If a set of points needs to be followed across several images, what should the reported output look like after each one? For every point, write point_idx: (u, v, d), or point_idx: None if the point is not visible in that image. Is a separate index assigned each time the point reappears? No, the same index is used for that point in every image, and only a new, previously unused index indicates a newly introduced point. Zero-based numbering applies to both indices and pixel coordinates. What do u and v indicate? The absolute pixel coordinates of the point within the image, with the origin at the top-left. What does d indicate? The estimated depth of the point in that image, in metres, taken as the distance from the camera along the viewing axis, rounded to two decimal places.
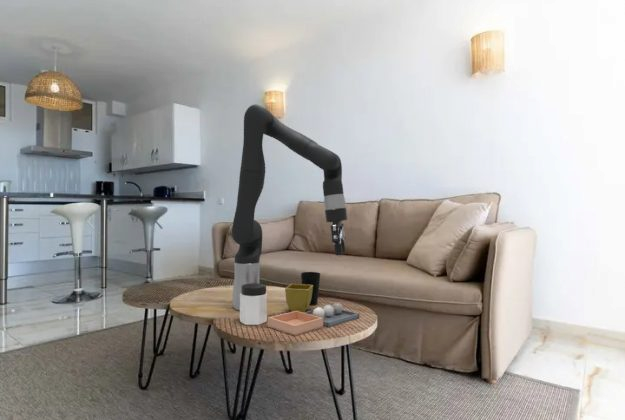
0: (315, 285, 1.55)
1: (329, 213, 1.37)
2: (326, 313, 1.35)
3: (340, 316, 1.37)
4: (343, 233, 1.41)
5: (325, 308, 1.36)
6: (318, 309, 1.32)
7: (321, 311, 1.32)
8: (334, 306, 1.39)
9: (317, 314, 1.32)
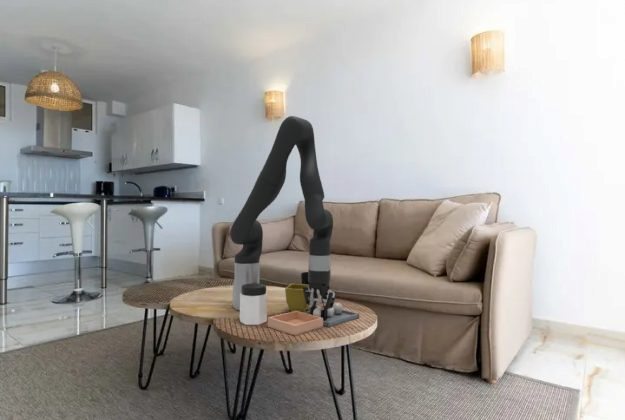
0: None
1: (323, 275, 1.30)
2: None
3: (340, 316, 1.37)
4: None
5: None
6: (318, 309, 1.32)
7: None
8: (334, 306, 1.39)
9: (317, 314, 1.31)
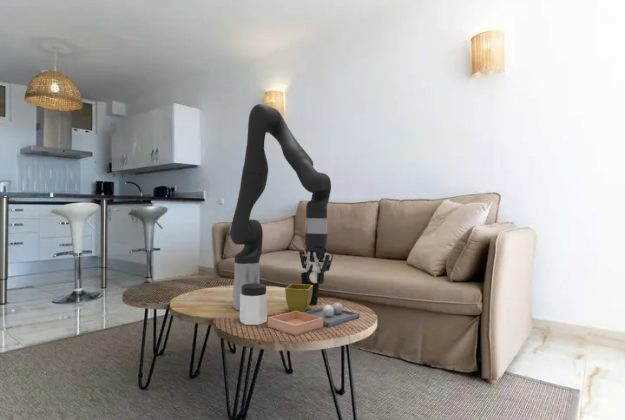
0: (315, 285, 1.55)
1: (320, 237, 1.29)
2: (326, 313, 1.35)
3: (340, 316, 1.37)
4: None
5: (325, 308, 1.36)
6: (315, 272, 1.32)
7: None
8: (334, 306, 1.39)
9: (314, 277, 1.31)
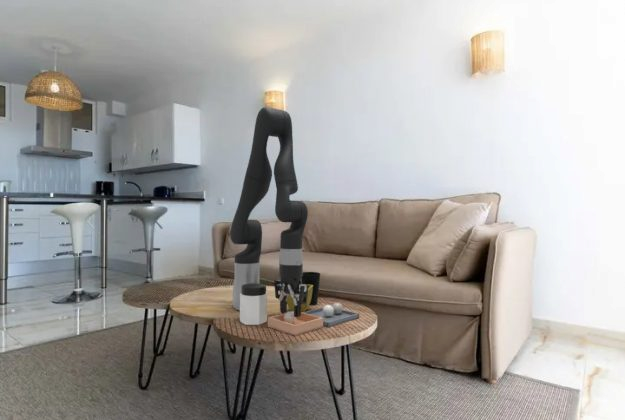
0: (315, 285, 1.55)
1: (294, 269, 1.24)
2: (326, 313, 1.35)
3: (340, 316, 1.37)
4: None
5: (325, 308, 1.36)
6: (289, 313, 1.26)
7: (293, 316, 1.26)
8: (334, 306, 1.39)
9: (288, 318, 1.26)
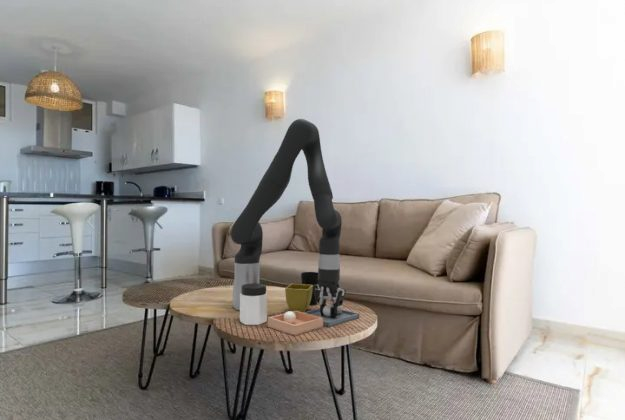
0: None
1: (333, 273, 1.33)
2: (326, 313, 1.35)
3: (340, 316, 1.37)
4: None
5: (325, 308, 1.36)
6: (288, 312, 1.27)
7: (292, 314, 1.27)
8: None
9: (288, 317, 1.26)
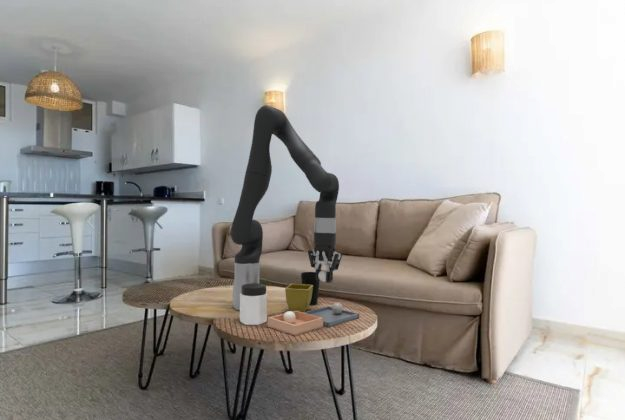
0: (315, 285, 1.55)
1: (329, 236, 1.31)
2: (322, 278, 1.33)
3: (340, 316, 1.37)
4: None
5: (321, 273, 1.34)
6: (288, 312, 1.27)
7: (292, 314, 1.27)
8: (334, 306, 1.39)
9: (287, 317, 1.26)
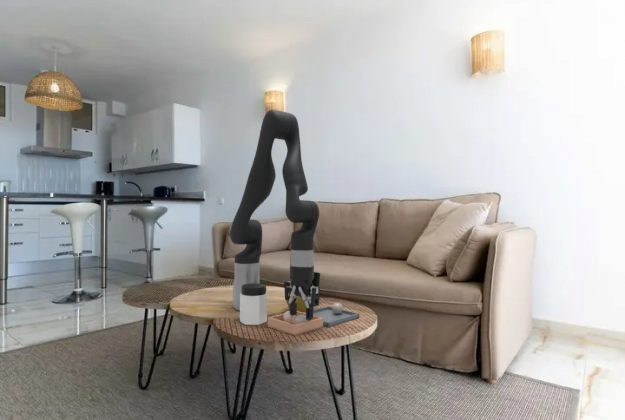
0: (315, 285, 1.55)
1: (305, 271, 1.20)
2: None
3: (340, 316, 1.37)
4: None
5: (297, 318, 1.23)
6: (288, 312, 1.28)
7: None
8: (334, 306, 1.39)
9: (287, 316, 1.26)
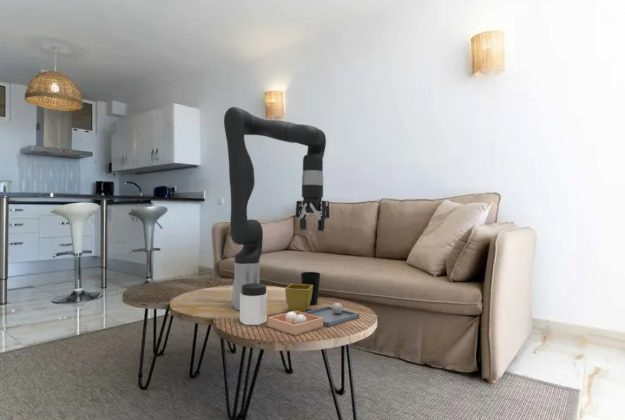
0: (315, 285, 1.55)
1: (316, 188, 1.36)
2: (298, 323, 1.22)
3: (340, 316, 1.37)
4: None
5: (296, 318, 1.23)
6: (292, 314, 1.26)
7: (294, 317, 1.26)
8: (334, 306, 1.39)
9: (290, 318, 1.25)
